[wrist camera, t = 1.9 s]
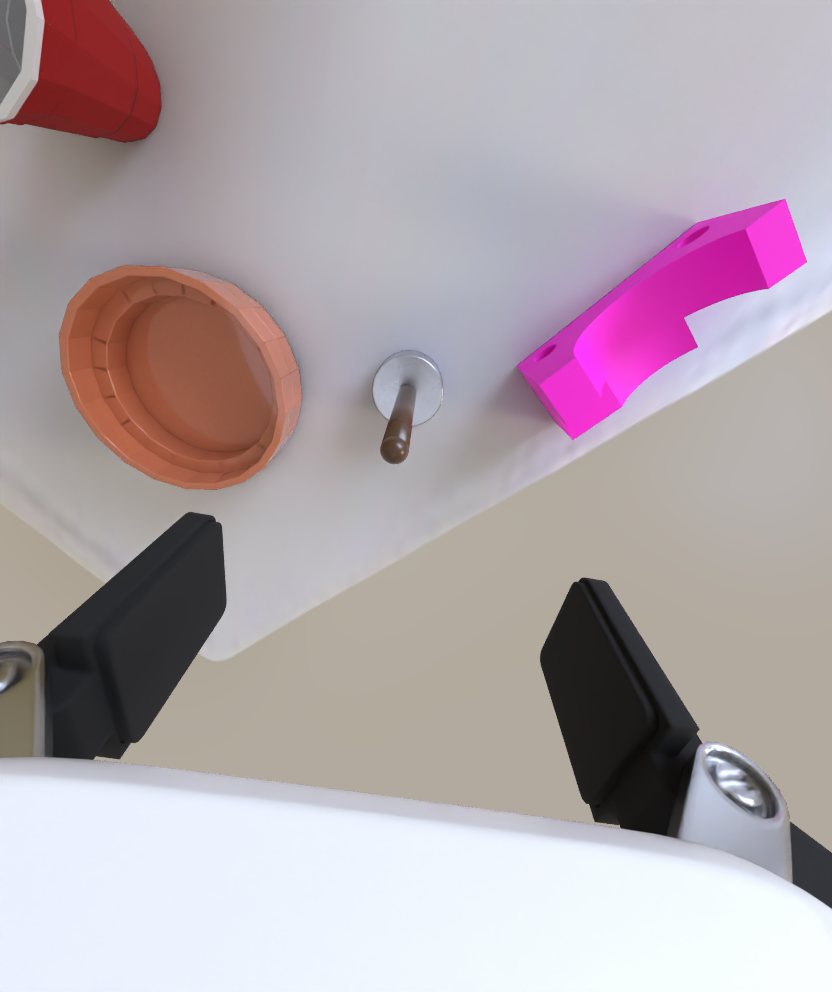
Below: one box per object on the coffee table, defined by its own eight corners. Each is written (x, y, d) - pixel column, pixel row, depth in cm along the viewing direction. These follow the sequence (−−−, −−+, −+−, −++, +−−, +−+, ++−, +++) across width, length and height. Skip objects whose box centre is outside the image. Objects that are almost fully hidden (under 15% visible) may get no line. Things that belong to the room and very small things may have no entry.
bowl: (71, 352, 32) (14, 361, 28) (199, 219, 28) (155, 205, 23) (216, 495, 38) (188, 521, 34) (341, 405, 34) (328, 421, 29)
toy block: (556, 422, 34) (587, 454, 27) (516, 366, 32) (539, 385, 25) (731, 298, 29) (820, 300, 22) (697, 222, 27) (785, 198, 20)
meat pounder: (363, 375, 33) (310, 439, 18) (417, 335, 31) (407, 370, 17) (401, 429, 35) (381, 524, 20) (454, 394, 33) (473, 470, 19)
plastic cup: (-17, 16, 23) (-390, -215, 13) (122, -90, 21) (-184, -472, 11) (107, 219, 28) (-91, 173, 17) (232, 148, 26) (94, 46, 15)
